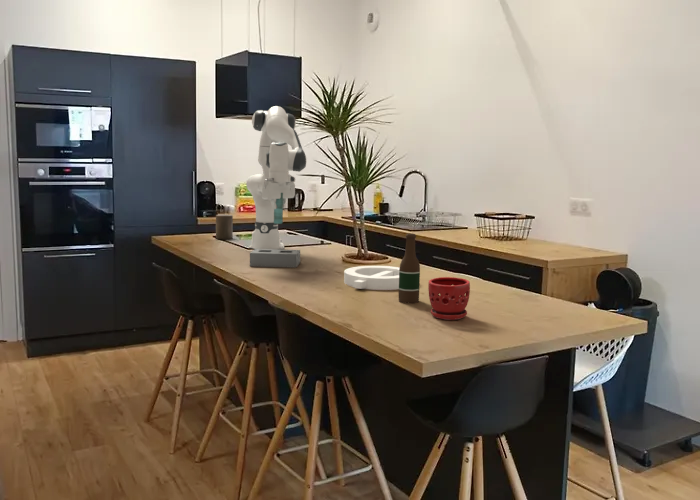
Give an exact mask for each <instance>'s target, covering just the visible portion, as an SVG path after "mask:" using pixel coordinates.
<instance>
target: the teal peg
mask: <svg viewBox="0 0 700 500" xmlns="http://www.w3.org/2000/svg"><path fill="white" fill-rule="evenodd" d="M275 203H276V205H277V209H274V224H278V225H282V224H283V223H284V222H283V221H284V220H283V217H284V216H283V214H284V213H283V210H284V208H283V193H281V198H280V199H276V202H275Z"/></svg>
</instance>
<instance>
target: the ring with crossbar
mask: <svg viewBox="0 0 700 500" xmlns="http://www.w3.org/2000/svg"><path fill="white" fill-rule="evenodd" d="M399 269H400V266H399V267H398V266H391V265H390V266H389V265H359V266H353V267H348V268H346V269H344V271H343V274H344V275H343V276H344V278H343V283H344V284H345V285H346V284H347V286H349V287H352V288H353V289H361V290H374V291H376V290H377V291H388V290H389V291H394V290H399Z"/></svg>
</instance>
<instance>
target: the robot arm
mask: <svg viewBox="0 0 700 500" xmlns="http://www.w3.org/2000/svg"><path fill="white" fill-rule="evenodd" d="M251 124H252V127H253V129H254V130H255V131H257V132H261V133H260V138H259V139H260V140H259V147H258V157H257V161H258V164H259V165H260V166H261V168H262V171H263V173H256V174H252V175H249V176H248V177H247V180H246V184H245V185H246V189H247V191H248V192H249V193H250V194H251V196H252V199H253V202H254V206H255V221H254V228H255V229H254V230H253V231H252V233H251V244H250V245H249V246H248V248H249V249H253V250H254V249H284V250H285V246H284V245H285V244H284V243H283V242H282V239H281V232H280V231H279V224H274V209H277V205H276V203H275V202H276V199H280V198H281V193H283V209H286V208H285V205H286V202H287V199H294V198H295V195H296V185H295V184H296V183H295V182H296V177H295V176H294V175H291V174H290V173H289V172H290V171H293V172H302V171H303V170H304V169H305V168H306V166H307V155H306V154H305V151H304V149H303V147H302V143H301V141H300V137H299V134H298V133H297V131H296V130H295V128H296V127H297V126H296V124H297V123H296V117H295V115H293V114H291V113H288V112H286V110H285V108H283V107H281V106H280V105H279V106H278V105H275V106H271V107H270V108H269V109H268V110H263V109H258V110H256V111H255V112H254V113H253V115H252V118H251ZM289 146H291V149H289Z"/></svg>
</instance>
